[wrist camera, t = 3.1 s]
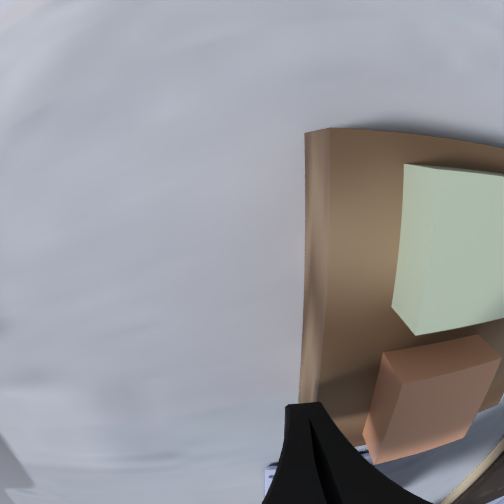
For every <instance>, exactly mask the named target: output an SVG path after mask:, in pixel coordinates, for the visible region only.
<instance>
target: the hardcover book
mask: <svg viewBox="0 0 504 504" xmlns="http://www.w3.org/2000/svg"><path fill="white" fill-rule="evenodd" d="M502 496H504V437H503V438H502V439H501V441H500V442H499V443H498V444H497V445H496V447H495V448H494V449H493V450H492V451H491V452H490V454H489V455H488V456H487V457H486V458H485V459H484V460H483V461H482V463H481V464H480V465H479V466H478V467H477V468H476V469H475V470H474V471H473V472H472V473H471V474H470V475H469V476H468V477H467V478H466V479H465V480H464V481H463V482H462V483H461V484H460V485H459V486H458V487H457V488H456V489H455V490H454V491H453V492H452V493H451V494H450V495H449V496H448V497H446V498H445V499H444V500H443V501H442V502H441V503H440V504H486V503H488V502H491V501H493V500H495V499H497V498H500V497H502Z"/></svg>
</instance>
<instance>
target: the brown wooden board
mask: <svg viewBox="0 0 504 504" xmlns="http://www.w3.org/2000/svg"><path fill="white" fill-rule="evenodd" d="M404 164H415V165H428V166H440V167H450V168H460V169H469V170H478V171H486V172H493V173H501V174H504V148H500V147H495V146H490V145H484V144H479V143H473V142H467V141H461V140H455V139H449V138H442V137H434V136H427V135H418V134H409V133H400V132H389V131H377V130H363V129H346V128H326V129H322V130H317V131H312V132H308V133H305V192H306V220H305V281H304V311H303V334H302V353H301V370H300V386H299V404H300V403H310V402H321V403H322V404H323V406H324V408H325V409H326V411H327V413H328V414H329V416H330V417H331V419H332V420H333V421H334V423H335V424H336V426H337V427H338V428H339V430H340V431H341V432H342V433H343V435H344V436H345V437H346V438H347V439H348V441H349V442H350V443H351V444H352V445H353V446H354V447H356V446H361V445H366V443H365V440H364V437H363V434H362V433H363V430H364V427H365V423H366V420H367V416H368V413H369V409H370V405H371V401H372V398H373V394H374V390H375V386H376V381H377V377H378V373H379V369H380V364H381V359H382V355H383V352H387V351H394V350H400V349H406V348H412V347H418V346H423V345H429V344H434V343H439V342H444V341H449V340H453V339H458V338H463V337H467V336H471V335H476V334H478V335H479V336H480V337H481V338H482V339H483V340H484V341H485V342H487V343H488V344H489V345H490V346H491V347H492V348H493V349H494V350H495V351H496V352H497V353H498V354H499V355H500V356H501V357H502V359H501V361H500V364H499V366H498V369H497V371H496V373H495V376H494V378H493V380H492V383H491V385H490V387H489V389H488V392H487V394H486V396H485V398H484V400H483V402H482V404H481V406H480V408H479V410H478V412H481V411H483V410H486V409H488V408H491V407H493V406H496V405H498V403H499V401H500V399H501V397H502V395H503V393H504V318H501V319H497V320H492V321H488V322H484V323H479V324H475V325H470V326H465V327H460V328H455V329H450V330H445V331H439V332H434V333H428V334H422V335H416V336H415V335H414V333H413V332H412V331H411V330H410V328H409V327H408V326H407V325H406V324H405V322H404V321H403V320H402V319H401V318H400V316H399V315H398V314H397V313H396V312H395V311H394V309H393V308H392V307H391V306H392V299H393V293H394V286H395V278H396V270H397V262H398V253H399V243H400V232H401V219H402V203H403V180H404ZM478 412H477V413H478Z"/></svg>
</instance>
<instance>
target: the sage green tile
mask: <svg viewBox="0 0 504 504" xmlns="http://www.w3.org/2000/svg"><path fill="white" fill-rule="evenodd" d="M391 307H392V308H393V309H394V311H395V312H396V313H397V314H398V315H399V316H400V318H401V319H402V320H403V321H404V322H405V324H406V325H407V326H408V327H409V328H410V330H411V331H412V332H413V333H414V335H415V336H416V335H422V334H428V333H434V332H439V331H445V330H450V329H455V328H460V327H465V326H470V325H475V324H479V323H484V322H488V321H492V320H497V319H501V318H504V174H501V173H493V172H486V171H478V170H469V169H460V168H450V167H440V166H428V165H415V164H404V180H403V203H402V219H401V232H400V243H399V253H398V262H397V270H396V278H395V286H394V293H393V299H392V306H391Z"/></svg>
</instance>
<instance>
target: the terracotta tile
mask: <svg viewBox="0 0 504 504" xmlns="http://www.w3.org/2000/svg"><path fill="white" fill-rule="evenodd" d="M501 359H502V357H501V356H500V355H499V354H498V353H497V352H496V351H495V350H494V349H493V348H492V347H491V346H490V345H489V344H488V343H487V342H485V341H484V340H483V339H482V338H481V337H480V336H479V335H478V334H476V335H471V336H467V337H463V338H458V339H453V340H449V341H444V342H439V343H434V344H429V345H423V346H418V347H412V348H406V349H400V350H394V351H387V352H383V355H382V359H381V364H380V369H379V373H378V377H377V381H376V386H375V390H374V394H373V398H372V401H371V405H370V409H369V413H368V416H367V420H366V423H365V427H364V430H363V433H362V434H363V437H364V440H365V443H366V445H367V448H368V451H369V453H370V456H371V459H372V462H373V464H374V465H375V464H380V463H384V462H388V461H392V460H396V459H400V458H403V457H407V456H411V455H414V454H417V453H421V452H424V451H427V450H430V449H434V448H437V447H440V446H443V445H445V444H448V443H451V442H454V441H457V440H459V439H462V438H464V436H465V435H466V433H467V431H468V429H469V427H470V426H471V424H472V422H473V420H474V418H475V416H476V414H477V412H478V410H479V408H480V406H481V404H482V402H483V400H484V398H485V396H486V394H487V392H488V389H489V387H490V385H491V383H492V380H493V378H494V376H495V373H496V371H497V369H498V366H499V364H500V361H501Z"/></svg>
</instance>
